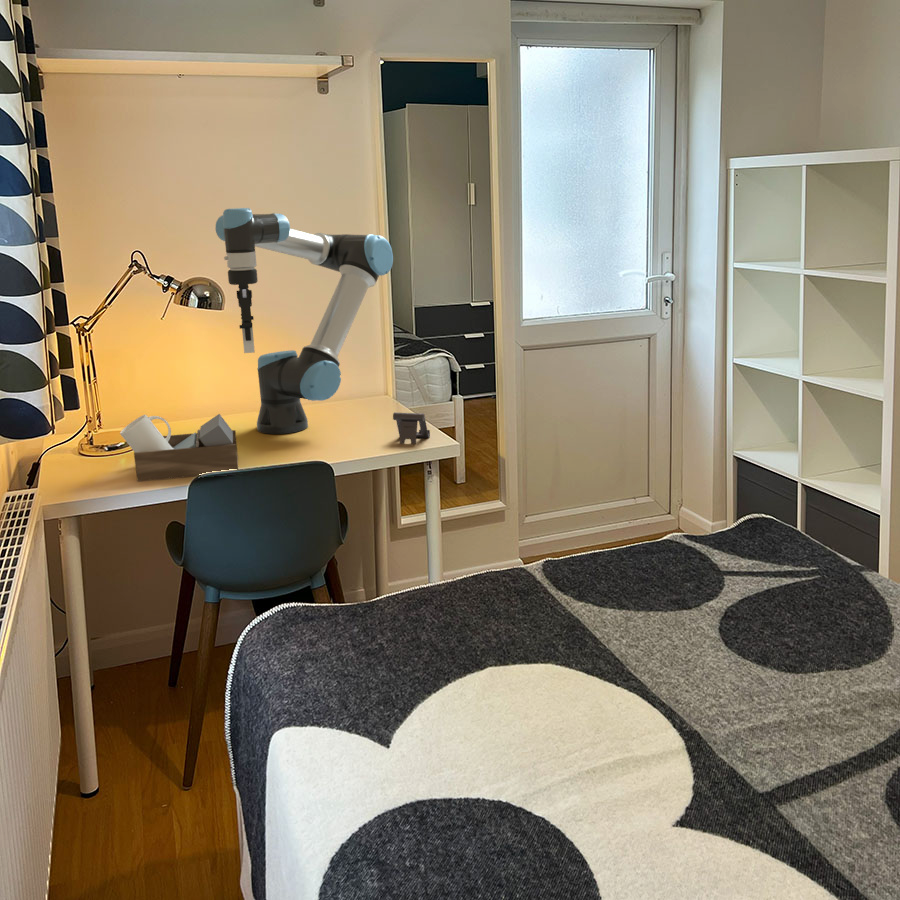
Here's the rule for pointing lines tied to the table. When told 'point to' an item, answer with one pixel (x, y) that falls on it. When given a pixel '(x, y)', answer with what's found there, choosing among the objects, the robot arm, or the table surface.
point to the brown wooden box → (185, 459)
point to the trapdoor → (210, 434)
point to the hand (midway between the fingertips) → (249, 348)
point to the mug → (146, 435)
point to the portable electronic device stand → (411, 426)
